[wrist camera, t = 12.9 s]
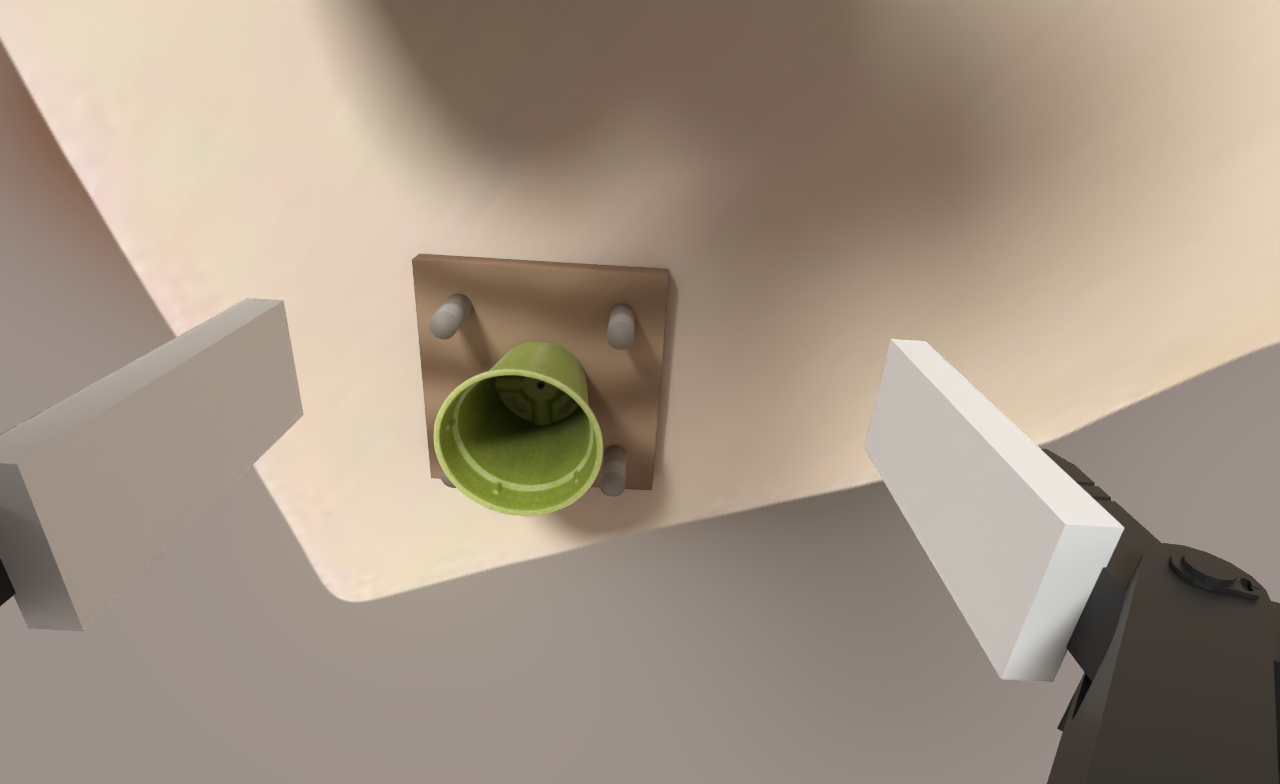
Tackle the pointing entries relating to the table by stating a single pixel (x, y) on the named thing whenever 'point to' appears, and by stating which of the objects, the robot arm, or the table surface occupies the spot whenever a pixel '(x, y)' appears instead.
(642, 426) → the stand
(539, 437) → the plant pot
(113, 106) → the table surface
